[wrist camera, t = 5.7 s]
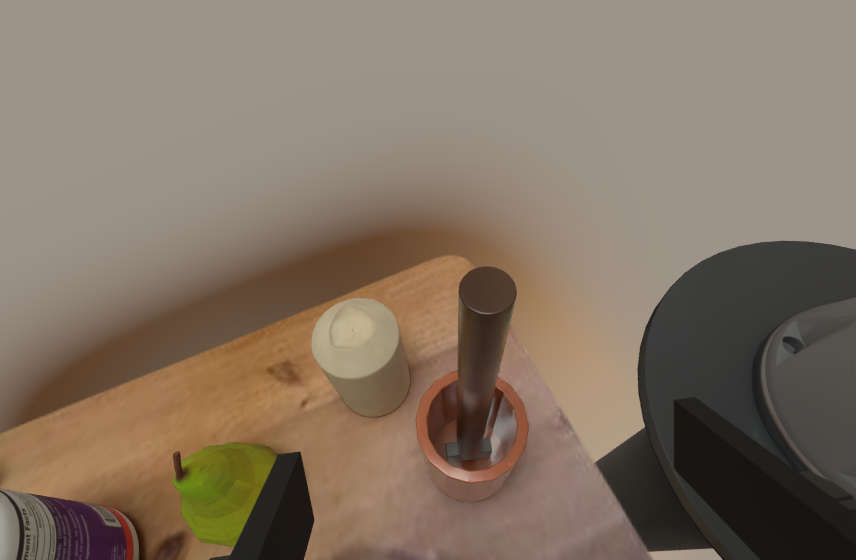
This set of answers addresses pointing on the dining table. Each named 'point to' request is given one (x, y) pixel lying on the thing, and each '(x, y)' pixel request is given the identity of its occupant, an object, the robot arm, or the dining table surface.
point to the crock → (441, 427)
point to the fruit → (221, 488)
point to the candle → (362, 355)
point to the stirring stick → (479, 356)
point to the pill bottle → (62, 530)
